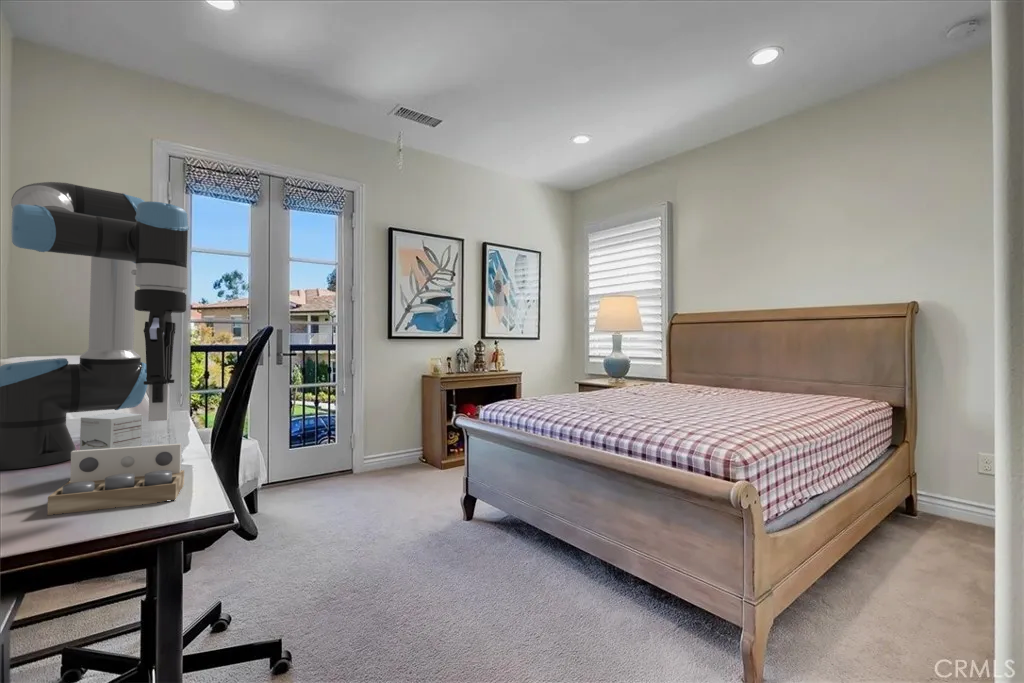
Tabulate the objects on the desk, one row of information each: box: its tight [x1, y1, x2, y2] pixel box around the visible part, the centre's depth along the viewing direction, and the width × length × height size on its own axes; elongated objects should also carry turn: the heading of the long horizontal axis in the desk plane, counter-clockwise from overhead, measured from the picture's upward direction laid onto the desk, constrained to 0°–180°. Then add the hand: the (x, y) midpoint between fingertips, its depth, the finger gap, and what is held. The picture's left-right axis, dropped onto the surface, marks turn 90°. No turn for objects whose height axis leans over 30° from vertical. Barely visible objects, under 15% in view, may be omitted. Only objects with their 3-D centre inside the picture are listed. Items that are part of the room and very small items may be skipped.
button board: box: [47, 469, 185, 516], centre depth 84 cm, size 10×17×3 cm, turn 118°
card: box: [69, 443, 182, 483], centre depth 87 cm, size 1×16×6 cm, turn 118°
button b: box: [105, 473, 135, 490], centre depth 82 cm, size 4×4×2 cm
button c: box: [144, 470, 172, 486], centre depth 85 cm, size 4×4×2 cm
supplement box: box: [79, 412, 144, 450], centre depth 98 cm, size 7×7×13 cm
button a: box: [62, 481, 95, 494], centre depth 80 cm, size 4×4×2 cm
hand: (158, 420), depth 85 cm, fingers closed
